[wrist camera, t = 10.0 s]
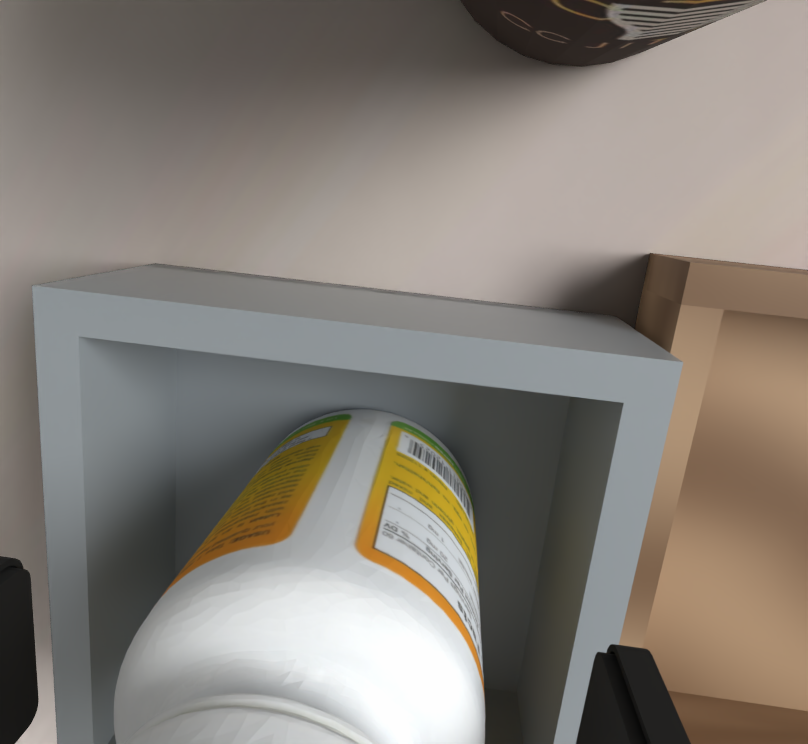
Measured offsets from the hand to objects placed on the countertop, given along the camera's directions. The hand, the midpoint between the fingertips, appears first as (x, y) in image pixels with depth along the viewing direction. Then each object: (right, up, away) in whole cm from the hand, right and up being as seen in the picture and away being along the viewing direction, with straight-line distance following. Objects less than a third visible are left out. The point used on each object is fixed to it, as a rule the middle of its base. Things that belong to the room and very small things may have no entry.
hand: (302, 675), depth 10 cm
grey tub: (+1, +2, +6) cm, 6 cm away
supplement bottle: (+1, +2, +6) cm, 6 cm away
